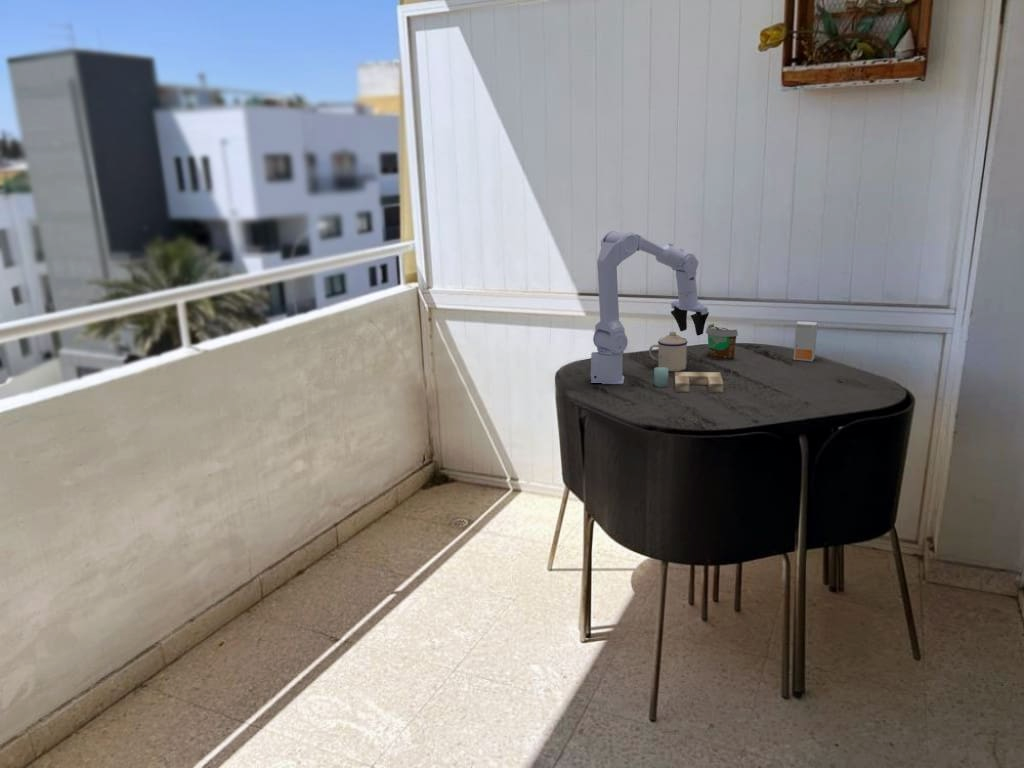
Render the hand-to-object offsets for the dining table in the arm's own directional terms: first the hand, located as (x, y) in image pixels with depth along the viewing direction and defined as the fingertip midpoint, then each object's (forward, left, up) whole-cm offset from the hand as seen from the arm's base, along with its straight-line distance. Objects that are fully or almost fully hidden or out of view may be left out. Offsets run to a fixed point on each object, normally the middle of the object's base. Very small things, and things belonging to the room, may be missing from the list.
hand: (691, 332), depth 229 cm
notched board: (+1, -24, -11) cm, 26 cm away
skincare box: (+36, +8, -11) cm, 38 cm away
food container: (+9, +10, -11) cm, 17 cm away
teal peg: (-9, -23, -11) cm, 27 cm away
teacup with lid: (-7, -4, -11) cm, 14 cm away
